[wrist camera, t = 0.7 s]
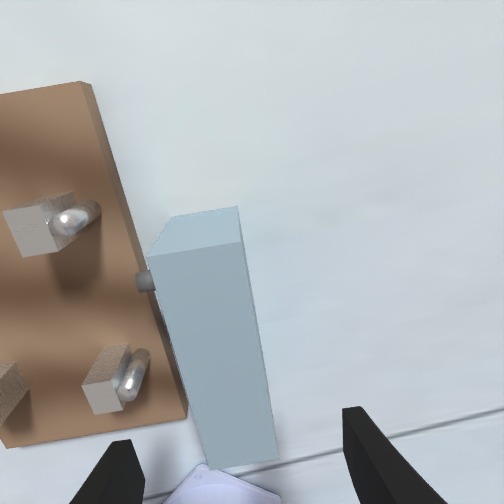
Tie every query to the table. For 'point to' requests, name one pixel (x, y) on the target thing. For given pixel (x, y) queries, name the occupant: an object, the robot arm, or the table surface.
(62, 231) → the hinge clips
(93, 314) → the cabinet panel
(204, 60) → the table surface
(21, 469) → the table surface
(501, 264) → the table surface
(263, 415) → the pale blue square pillar
